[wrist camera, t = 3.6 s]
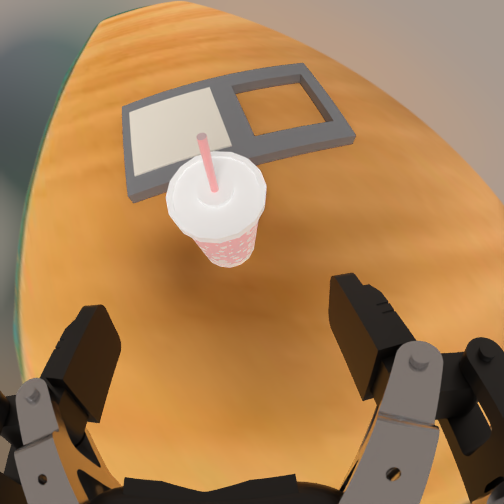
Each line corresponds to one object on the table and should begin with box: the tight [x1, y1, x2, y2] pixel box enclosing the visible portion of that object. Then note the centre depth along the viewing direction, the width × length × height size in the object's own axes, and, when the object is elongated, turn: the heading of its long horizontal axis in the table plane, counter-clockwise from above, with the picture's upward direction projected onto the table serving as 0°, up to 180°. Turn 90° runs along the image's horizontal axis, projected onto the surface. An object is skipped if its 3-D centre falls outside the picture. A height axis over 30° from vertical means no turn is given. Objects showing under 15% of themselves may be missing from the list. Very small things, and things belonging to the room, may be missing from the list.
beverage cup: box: [166, 133, 266, 268], centre depth 19 cm, size 6×6×14 cm
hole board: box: [122, 63, 356, 203], centre depth 29 cm, size 24×14×2 cm, turn 108°
